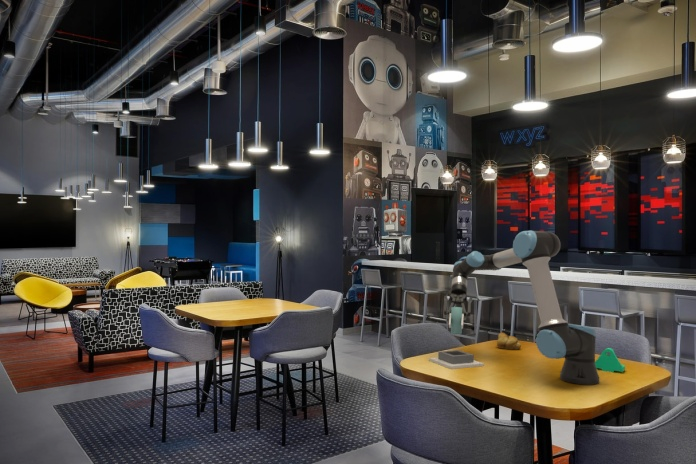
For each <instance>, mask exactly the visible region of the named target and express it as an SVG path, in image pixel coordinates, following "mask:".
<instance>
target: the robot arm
mask: <svg viewBox="0 0 696 464" xmlns="http://www.w3.org/2000/svg"><path fill="white" fill-rule="evenodd" d="M512 242H513V243H512V247H511V248H509V249H505V250H503V251H499V252H496V253H494V254H490V255H489V254H487V255H485V254H482V253H481V252H480V251H477V250H472V252H471V253H469V254H467V256H466V257H465V258H463V260H458V261H455V263H454V264H453V267H452V279H451V287H450V289H451V290H450V294H449V296H448V295H444V296H443V297H444V298H443V299H444V305H443V314H444V315H446V321H447V322H448V328H449V329H451V307H456V305H460V307H461V308H462V321H461V329H462V330H463V329H464V323H466V322H467V317H471V314H472V313H471V310H472V303H473V297H472V296H469V297H468V295H467V290H468V281H469V280H468V278H469V276H470V275H472V274H473V273H475V272H476V271H499V270H501V269H503V268H504V267H508V266H512V265H516V264H521V263H522V265H523V266H525V267H526V268H527V272H528V275H529V281H530V284H531V287H532V291H533V297H534V301H535V303H536V306H537V307H536V308H537V311H538V314H539V315H538V316H539V320H540V324H539V326H538V327H537V328H538V331H539V332H538V333H537V334H536V338H535V345H536V347H537V349H538V351H539V353H540V354H541V355H542V356H544V357H546V358H547V359H552V360H553V359H556V360H559V359H560V360H561V359H564V362H563V363H562V364H563V365H562V367H561V371H560V373H559V378H560V380H561V381H564V382H567V383H571V384H577V385H589V386H590V385H599V384H600V376H599V374H598V373H599V372H598V370H597V369H598V368H596V365H595V362H596V338H597V337H596V330H595V328H594V327H592V326H588V325H582V324H581V325H580V324H575V323H574V324H573V323H569V322H568V321H566V320H565V319H564V318H563V314H562V311H561V308H560V304H559V300H558V296H557V292H556V289H555V285H554V281H553V277H552V274H551V269H550V265H549V262H550V260H551V258H552V257H555V256H556V255H557V254H558V253H559V252H560V250H561V246H562V245H561V244H562V243H561V241H560V239H559V237H558V235H557V234H555V233H553V232H551V231H543V230H540V231H539V230H532V229H531V230H523V231H520V232H519V233H518V234H516V236H515V238H514V239H513V241H512ZM449 300H450V301H451V303H450V304H449ZM466 301H467V311H466V307H465V302H466ZM448 304H449V307H448Z"/></svg>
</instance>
